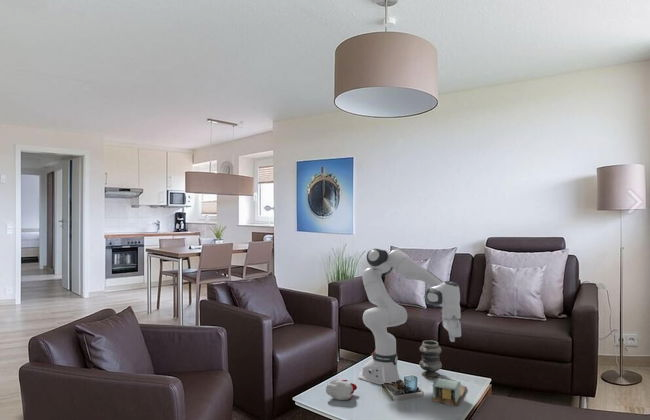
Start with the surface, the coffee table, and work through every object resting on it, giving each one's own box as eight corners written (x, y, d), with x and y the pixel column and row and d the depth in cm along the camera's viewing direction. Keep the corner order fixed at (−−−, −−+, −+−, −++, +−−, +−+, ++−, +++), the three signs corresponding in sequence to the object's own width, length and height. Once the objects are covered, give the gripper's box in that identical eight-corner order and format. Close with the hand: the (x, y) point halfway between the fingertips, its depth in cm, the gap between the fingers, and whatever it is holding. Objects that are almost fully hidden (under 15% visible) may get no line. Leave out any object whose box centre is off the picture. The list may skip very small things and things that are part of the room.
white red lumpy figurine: (324, 398, 203) (345, 393, 214) (341, 405, 195) (362, 399, 206) (325, 379, 204) (346, 374, 215) (342, 385, 196) (363, 380, 207)
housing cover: (433, 397, 199) (432, 384, 199) (437, 390, 207) (437, 378, 207) (456, 402, 194) (456, 388, 194) (460, 395, 202) (460, 381, 202)
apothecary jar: (428, 380, 225) (427, 346, 225) (415, 373, 236) (414, 340, 236) (446, 377, 229) (446, 343, 229) (433, 369, 240) (432, 338, 241)
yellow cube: (442, 398, 199) (442, 388, 200) (442, 394, 203) (442, 385, 203) (451, 399, 198) (451, 389, 198) (451, 395, 202) (451, 386, 202)
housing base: (431, 401, 199) (431, 392, 199) (442, 384, 218) (442, 376, 219) (457, 406, 193) (457, 397, 193) (466, 388, 213) (466, 380, 213)
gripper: (464, 318, 203) (465, 347, 203) (451, 309, 224) (452, 335, 223) (451, 318, 203) (451, 347, 203) (439, 309, 224) (440, 335, 224)
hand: (452, 341), depth 213 cm, fingers closed
